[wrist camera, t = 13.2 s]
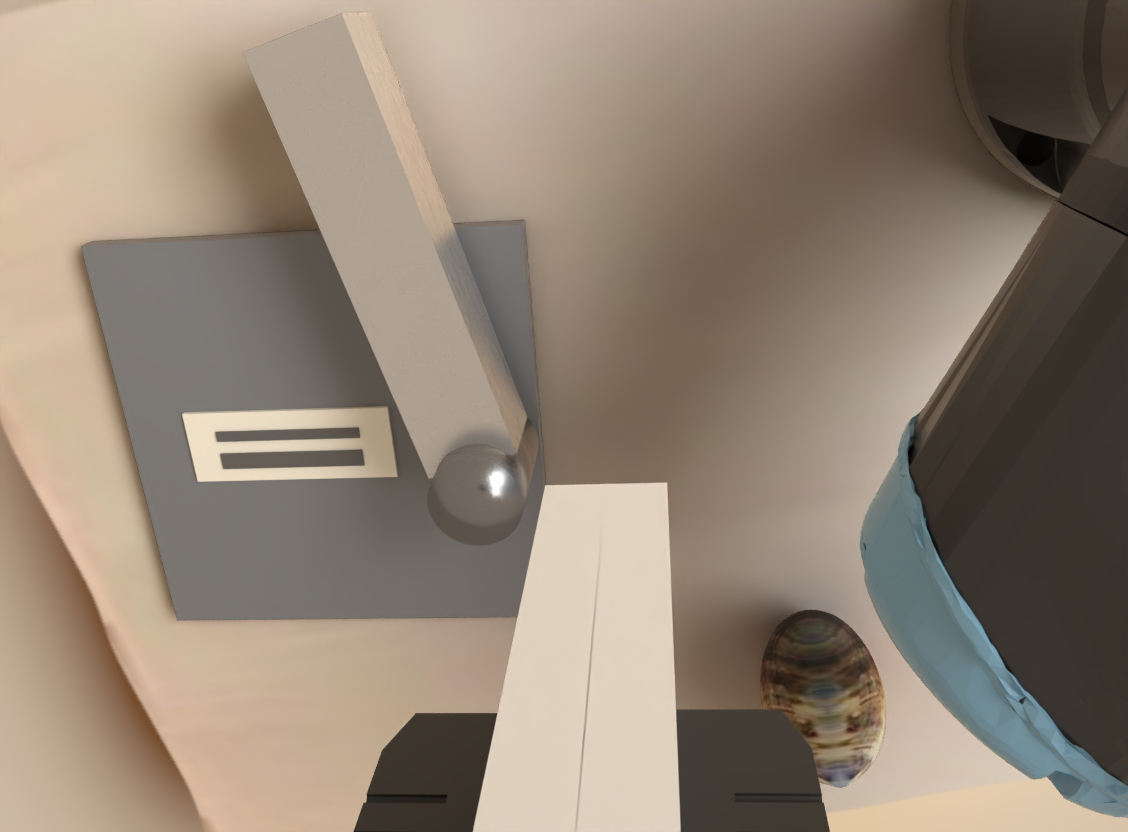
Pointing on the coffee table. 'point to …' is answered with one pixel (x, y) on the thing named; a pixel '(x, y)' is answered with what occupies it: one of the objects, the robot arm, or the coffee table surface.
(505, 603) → the panel
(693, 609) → the coffee table surface
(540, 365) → the coffee table surface
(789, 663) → the seashell
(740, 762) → the robot arm
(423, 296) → the swing bar
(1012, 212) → the coffee table surface
